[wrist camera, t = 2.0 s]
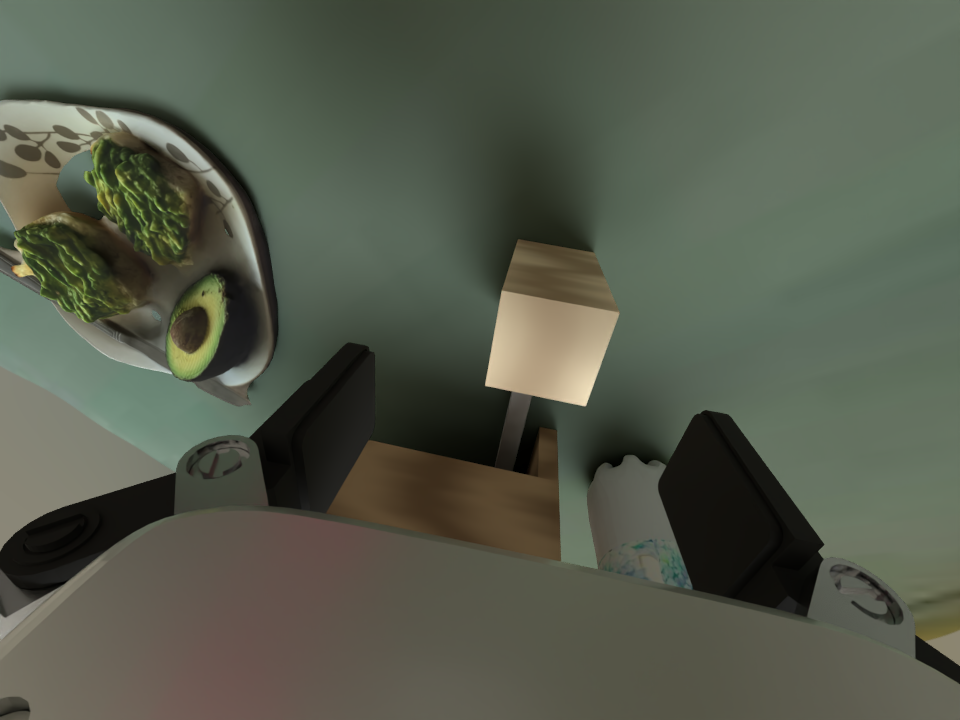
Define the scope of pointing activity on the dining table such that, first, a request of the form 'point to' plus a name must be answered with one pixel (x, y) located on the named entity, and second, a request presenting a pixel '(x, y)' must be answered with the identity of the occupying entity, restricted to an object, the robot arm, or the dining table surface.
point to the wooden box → (458, 497)
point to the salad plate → (140, 243)
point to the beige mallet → (548, 333)
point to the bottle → (634, 524)
